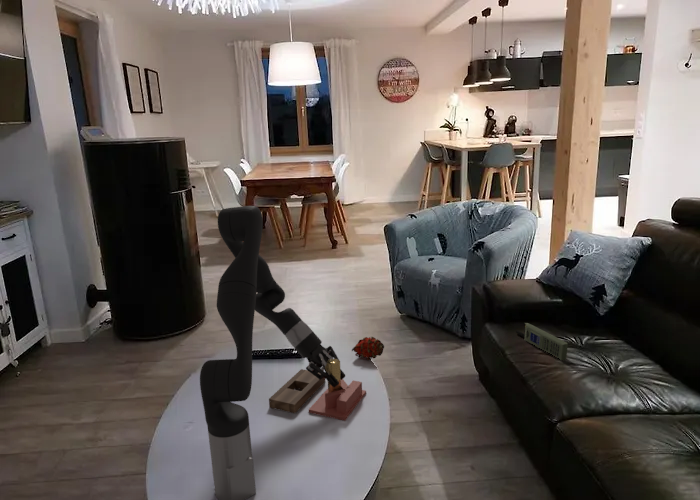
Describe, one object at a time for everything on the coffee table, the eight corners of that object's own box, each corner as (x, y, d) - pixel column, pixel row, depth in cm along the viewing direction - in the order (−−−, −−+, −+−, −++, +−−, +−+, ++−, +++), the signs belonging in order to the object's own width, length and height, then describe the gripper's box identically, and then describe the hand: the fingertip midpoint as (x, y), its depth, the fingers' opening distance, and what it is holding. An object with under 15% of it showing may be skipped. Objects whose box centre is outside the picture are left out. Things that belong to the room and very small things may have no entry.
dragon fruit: (387, 361, 182) (355, 367, 182) (383, 341, 187) (352, 346, 188) (385, 351, 175) (351, 356, 176) (381, 330, 181) (349, 335, 181)
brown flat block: (269, 407, 152) (268, 398, 151) (301, 377, 170) (301, 369, 169) (295, 413, 148) (294, 404, 148) (325, 381, 166) (324, 373, 165)
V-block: (308, 412, 149) (307, 397, 148) (332, 386, 163) (331, 372, 162) (345, 420, 144) (344, 405, 143) (366, 393, 158) (365, 379, 157)
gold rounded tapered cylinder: (343, 394, 153) (342, 362, 150) (333, 399, 151) (332, 366, 148) (336, 389, 156) (334, 357, 153) (325, 394, 154) (324, 361, 151)
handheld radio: (560, 362, 175) (513, 335, 197) (567, 360, 176) (519, 334, 199) (562, 344, 173) (514, 319, 196) (569, 343, 174) (521, 318, 197)
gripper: (298, 341, 145) (337, 386, 143) (321, 323, 158) (357, 364, 156) (284, 355, 149) (322, 399, 147) (307, 336, 161) (342, 377, 159)
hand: (340, 381), depth 151 cm, fingers closed on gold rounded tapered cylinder, 4 cm apart
